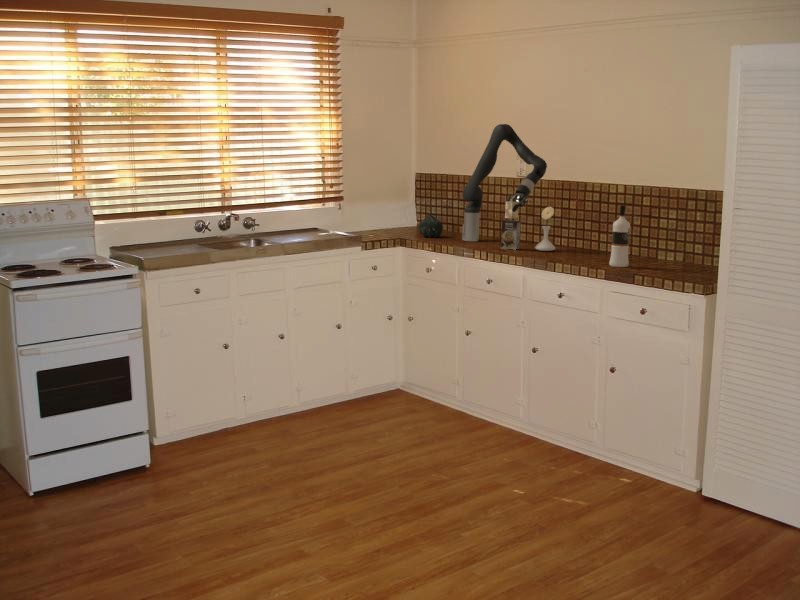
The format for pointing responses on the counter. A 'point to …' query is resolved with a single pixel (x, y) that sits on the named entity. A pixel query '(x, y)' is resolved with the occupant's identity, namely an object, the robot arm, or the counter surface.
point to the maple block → (510, 210)
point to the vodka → (620, 241)
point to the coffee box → (510, 234)
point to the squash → (430, 227)
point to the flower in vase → (546, 231)
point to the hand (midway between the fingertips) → (509, 210)
